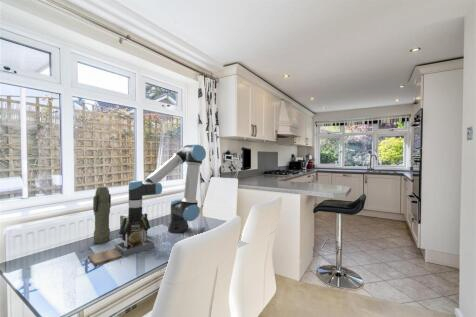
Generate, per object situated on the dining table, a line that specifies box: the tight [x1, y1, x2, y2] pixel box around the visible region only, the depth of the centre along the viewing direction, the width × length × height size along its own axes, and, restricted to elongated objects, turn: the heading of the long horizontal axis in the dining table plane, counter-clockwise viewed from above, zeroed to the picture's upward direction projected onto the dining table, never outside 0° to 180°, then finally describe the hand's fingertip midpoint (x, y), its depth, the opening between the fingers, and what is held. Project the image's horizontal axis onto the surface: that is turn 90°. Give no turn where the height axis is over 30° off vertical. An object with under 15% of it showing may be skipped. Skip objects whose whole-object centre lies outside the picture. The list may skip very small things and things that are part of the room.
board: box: [87, 248, 123, 267], centre depth 122 cm, size 13×13×1 cm
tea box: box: [119, 212, 146, 237], centre depth 155 cm, size 15×10×15 cm, turn 68°
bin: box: [114, 237, 155, 257], centre depth 134 cm, size 18×14×3 cm
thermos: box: [92, 186, 112, 244], centre depth 145 cm, size 9×12×35 cm
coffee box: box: [126, 220, 144, 250], centre depth 134 cm, size 9×6×16 cm
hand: (135, 243), depth 134 cm, fingers closed on coffee box, 10 cm apart
